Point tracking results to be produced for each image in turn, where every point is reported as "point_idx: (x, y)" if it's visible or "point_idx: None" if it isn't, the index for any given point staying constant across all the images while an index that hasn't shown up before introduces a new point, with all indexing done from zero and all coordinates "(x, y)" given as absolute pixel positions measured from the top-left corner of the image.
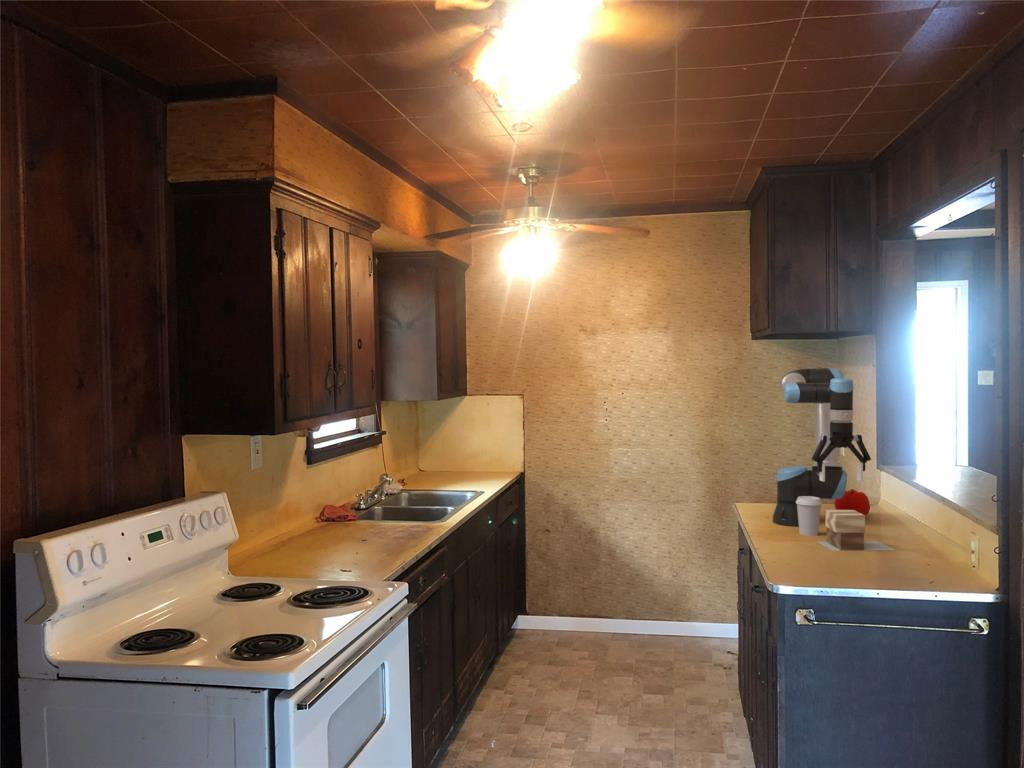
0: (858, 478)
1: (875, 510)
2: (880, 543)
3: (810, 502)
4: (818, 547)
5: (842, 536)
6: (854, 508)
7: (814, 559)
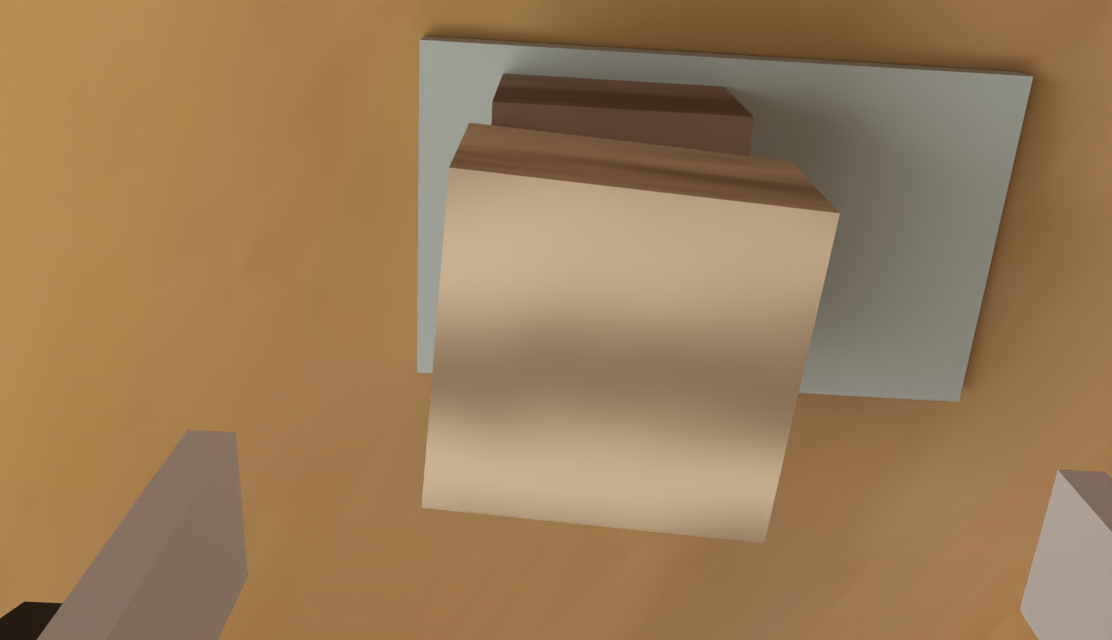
0: (1059, 546)
1: None
2: (996, 169)
3: None
4: (396, 132)
5: None
6: None
7: None
